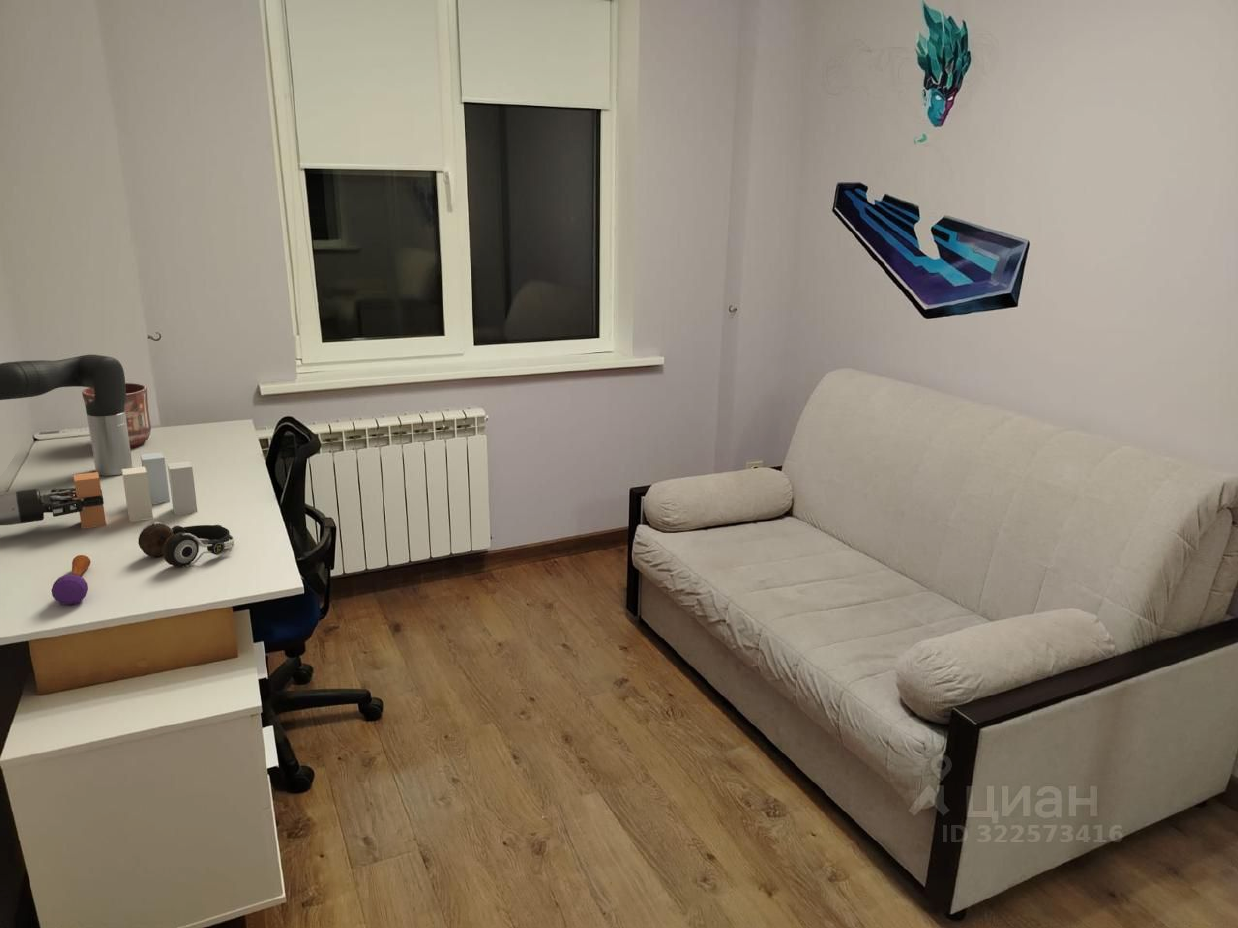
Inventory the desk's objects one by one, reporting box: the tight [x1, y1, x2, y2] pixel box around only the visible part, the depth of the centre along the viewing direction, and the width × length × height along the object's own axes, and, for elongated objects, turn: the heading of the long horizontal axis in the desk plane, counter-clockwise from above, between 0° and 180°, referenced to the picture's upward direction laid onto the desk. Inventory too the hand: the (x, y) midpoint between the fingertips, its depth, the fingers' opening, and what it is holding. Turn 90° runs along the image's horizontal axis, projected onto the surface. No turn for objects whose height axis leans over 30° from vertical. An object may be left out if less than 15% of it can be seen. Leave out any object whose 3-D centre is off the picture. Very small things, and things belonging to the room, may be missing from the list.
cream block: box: [121, 466, 154, 522], centre depth 210 cm, size 5×5×12 cm
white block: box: [140, 452, 171, 505], centre depth 221 cm, size 5×5×12 cm
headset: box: [137, 521, 235, 568], centre depth 193 cm, size 17×8×20 cm
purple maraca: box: [51, 554, 91, 606], centre depth 173 cm, size 6×6×20 cm
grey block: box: [166, 460, 198, 516], centre depth 215 cm, size 5×5×12 cm
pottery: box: [81, 382, 152, 449], centre depth 265 cm, size 18×18×18 cm
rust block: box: [73, 471, 107, 529], centre depth 204 cm, size 5×5×12 cm
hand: (102, 496), depth 206 cm, fingers closed on rust block, 5 cm apart
